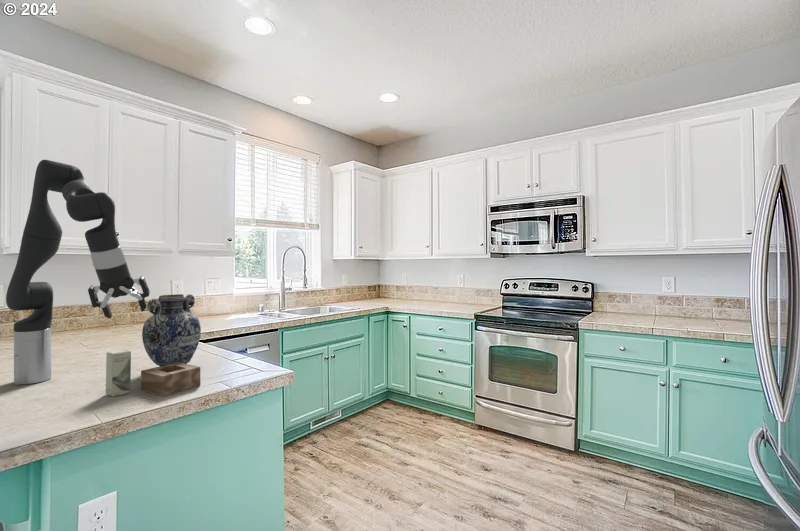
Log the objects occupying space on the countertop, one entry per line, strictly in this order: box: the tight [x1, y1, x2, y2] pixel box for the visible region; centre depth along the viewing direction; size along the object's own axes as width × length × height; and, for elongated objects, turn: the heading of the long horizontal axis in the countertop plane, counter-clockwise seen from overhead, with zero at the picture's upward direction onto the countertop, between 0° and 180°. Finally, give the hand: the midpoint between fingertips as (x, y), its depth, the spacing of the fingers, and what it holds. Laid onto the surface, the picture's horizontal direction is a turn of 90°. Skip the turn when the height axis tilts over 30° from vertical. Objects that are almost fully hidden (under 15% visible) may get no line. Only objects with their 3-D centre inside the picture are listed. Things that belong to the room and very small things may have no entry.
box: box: [105, 349, 132, 397], centre depth 121 cm, size 5×4×13 cm
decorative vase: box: [141, 293, 202, 367], centre depth 145 cm, size 21×19×28 cm
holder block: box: [140, 362, 201, 397], centre depth 126 cm, size 12×12×6 cm
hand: (127, 313), depth 119 cm, fingers open, 8 cm apart
